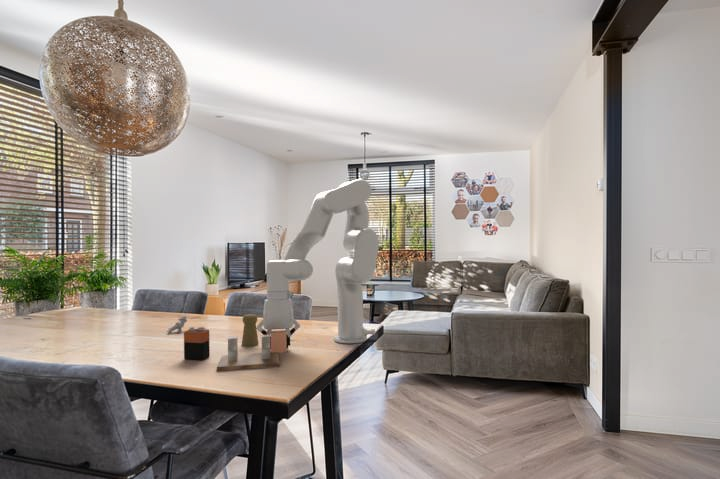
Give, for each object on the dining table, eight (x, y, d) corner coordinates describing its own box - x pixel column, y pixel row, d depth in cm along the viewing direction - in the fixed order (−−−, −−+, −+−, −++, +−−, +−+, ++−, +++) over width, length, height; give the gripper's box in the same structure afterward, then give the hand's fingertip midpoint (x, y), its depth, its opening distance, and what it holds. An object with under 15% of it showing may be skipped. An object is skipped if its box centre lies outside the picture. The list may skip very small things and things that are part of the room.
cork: (254, 347, 147) (253, 316, 147) (238, 346, 148) (238, 315, 148) (261, 342, 153) (261, 313, 153) (246, 342, 154) (246, 312, 154)
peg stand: (278, 355, 136) (278, 330, 136) (279, 366, 124) (279, 339, 124) (221, 359, 132) (221, 333, 132) (216, 371, 121) (216, 343, 121)
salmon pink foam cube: (286, 348, 145) (285, 329, 145) (286, 352, 140) (286, 332, 140) (271, 349, 144) (270, 330, 144) (270, 353, 139) (270, 333, 139)
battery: (202, 360, 131) (202, 329, 131) (183, 359, 132) (183, 328, 132) (210, 357, 135) (209, 326, 135) (191, 356, 136) (191, 325, 136)
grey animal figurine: (161, 332, 172) (179, 321, 179) (170, 342, 171) (188, 331, 178) (166, 320, 166) (185, 309, 173) (176, 330, 165) (194, 319, 173)
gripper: (302, 293, 147) (302, 344, 148) (253, 295, 144) (253, 347, 144) (303, 296, 140) (304, 349, 140) (252, 298, 137) (252, 353, 137)
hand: (278, 347), depth 142 cm, fingers closed on salmon pink foam cube, 5 cm apart
